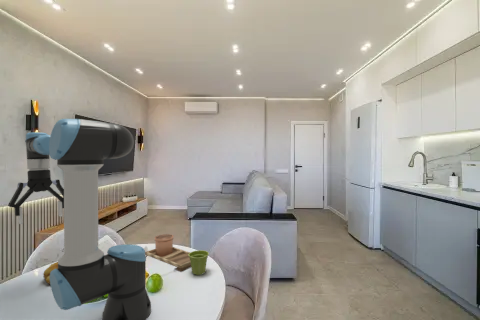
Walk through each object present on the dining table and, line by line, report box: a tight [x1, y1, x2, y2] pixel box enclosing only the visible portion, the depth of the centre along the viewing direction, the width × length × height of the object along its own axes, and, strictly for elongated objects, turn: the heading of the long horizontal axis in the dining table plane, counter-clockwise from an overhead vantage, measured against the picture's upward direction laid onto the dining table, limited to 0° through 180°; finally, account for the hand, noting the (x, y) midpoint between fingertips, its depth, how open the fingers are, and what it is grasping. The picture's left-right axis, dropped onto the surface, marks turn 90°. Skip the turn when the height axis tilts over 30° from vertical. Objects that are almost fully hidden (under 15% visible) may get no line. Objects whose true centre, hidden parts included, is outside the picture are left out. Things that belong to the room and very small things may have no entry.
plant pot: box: [188, 249, 210, 276], centre depth 117 cm, size 9×9×9 cm
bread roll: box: [42, 261, 58, 285], centre depth 111 cm, size 13×10×8 cm
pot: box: [154, 233, 175, 256], centre depth 137 cm, size 10×10×9 cm
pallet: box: [145, 246, 191, 273], centre depth 133 cm, size 30×14×3 cm, turn 53°
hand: (41, 219), depth 106 cm, fingers open, 13 cm apart
